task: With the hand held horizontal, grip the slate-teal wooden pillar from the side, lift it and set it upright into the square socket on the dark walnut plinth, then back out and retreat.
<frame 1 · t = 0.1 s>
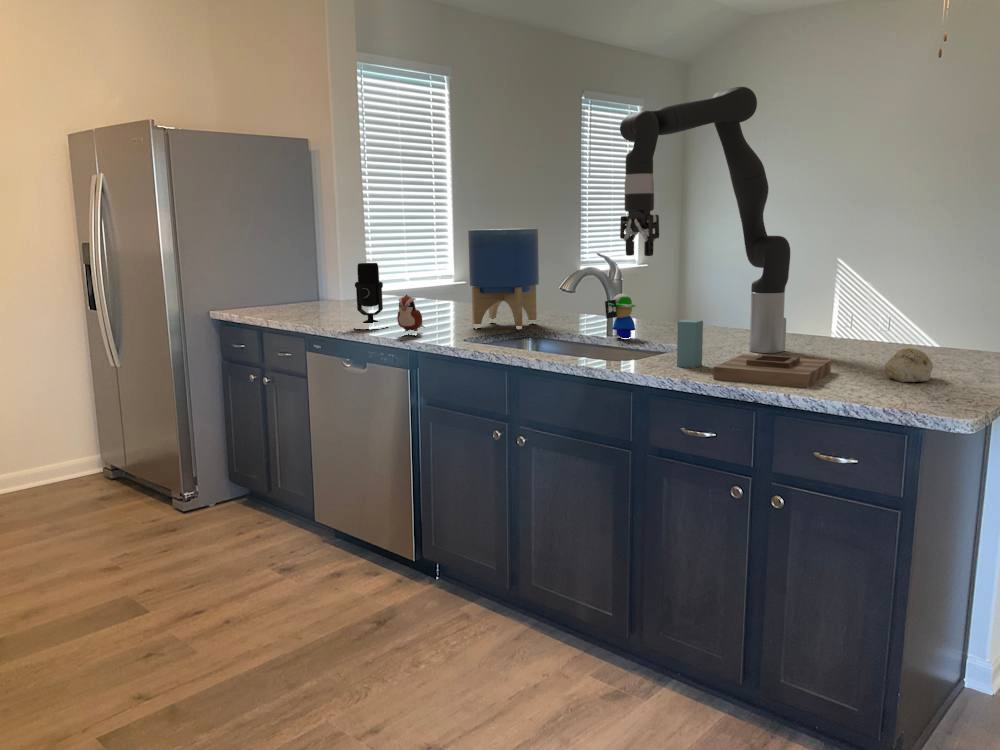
hand: (639, 255, 212), 29 cm above the countertop, tool pointing down, fingers open, 8 cm apart
planter: (505, 327, 309), on the countertop
pillar: (689, 365, 215), on the countertop
microphone: (371, 328, 314), on the countertop
plinth: (772, 375, 198), on the countertop
toy 2: (412, 336, 289), on the countertop
toy: (621, 339, 268), on the countertop
decorative item: (908, 380, 190), on the countertop
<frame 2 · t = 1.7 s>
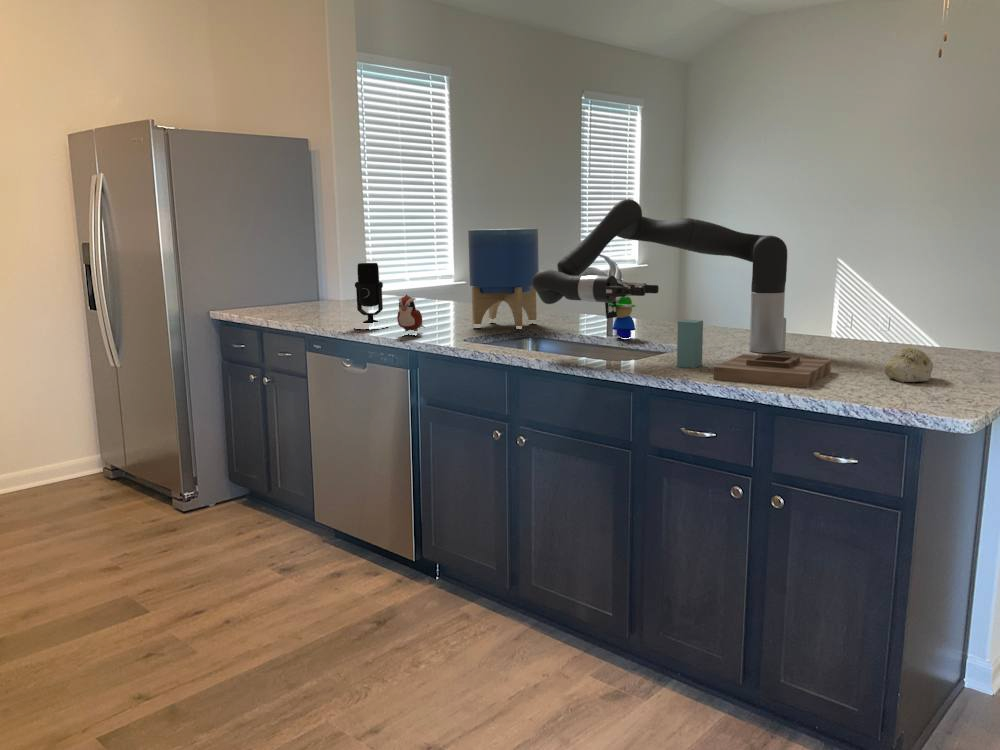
hand: (651, 290, 217), 20 cm above the countertop, tool horizontal, fingers open, 8 cm apart
nothing on the countertop moved.
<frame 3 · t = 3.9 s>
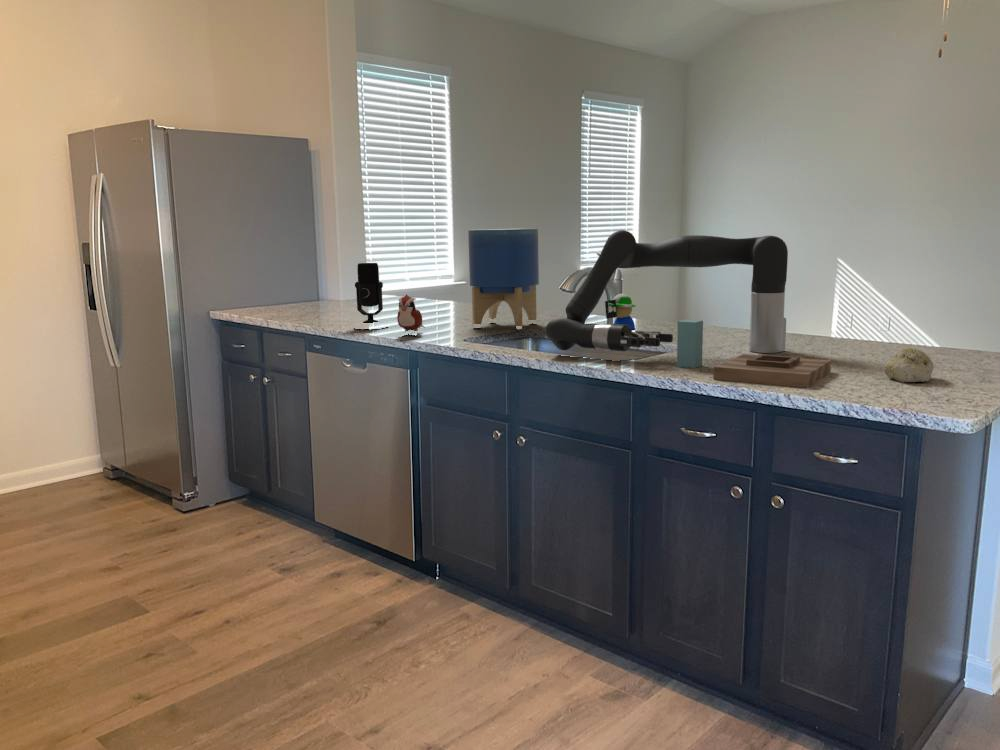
hand: (666, 340, 217), 6 cm above the countertop, tool horizontal, fingers open, 8 cm apart
nothing on the countertop moved.
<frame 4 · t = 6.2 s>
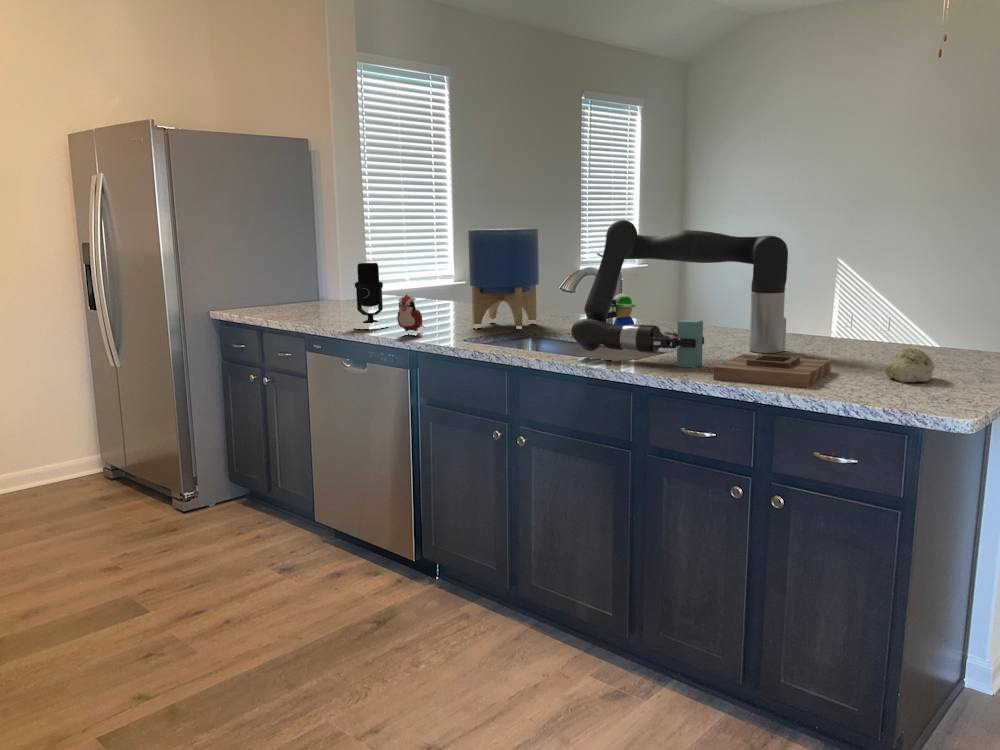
hand: (699, 342, 212), 7 cm above the countertop, tool horizontal, fingers closed on pillar, 5 cm apart
pillar: (689, 365, 215), on the countertop, touching gripper
everything else where it was.
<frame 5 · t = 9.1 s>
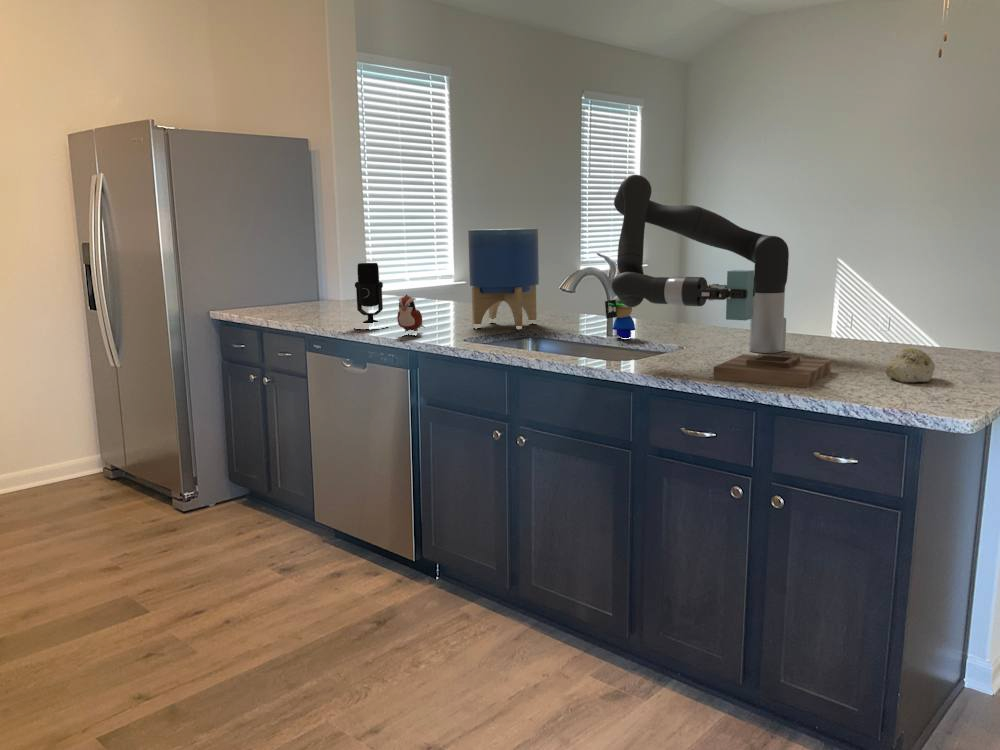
hand: (750, 293, 200), 20 cm above the countertop, tool horizontal, fingers closed on pillar, 5 cm apart
pillar: (739, 319, 202), point 13 cm above the countertop, touching gripper
everything else where it was.
when the fingers open (10 cm above the countertop, at t = 12.4 s): pillar stays where it is, resting on plinth.
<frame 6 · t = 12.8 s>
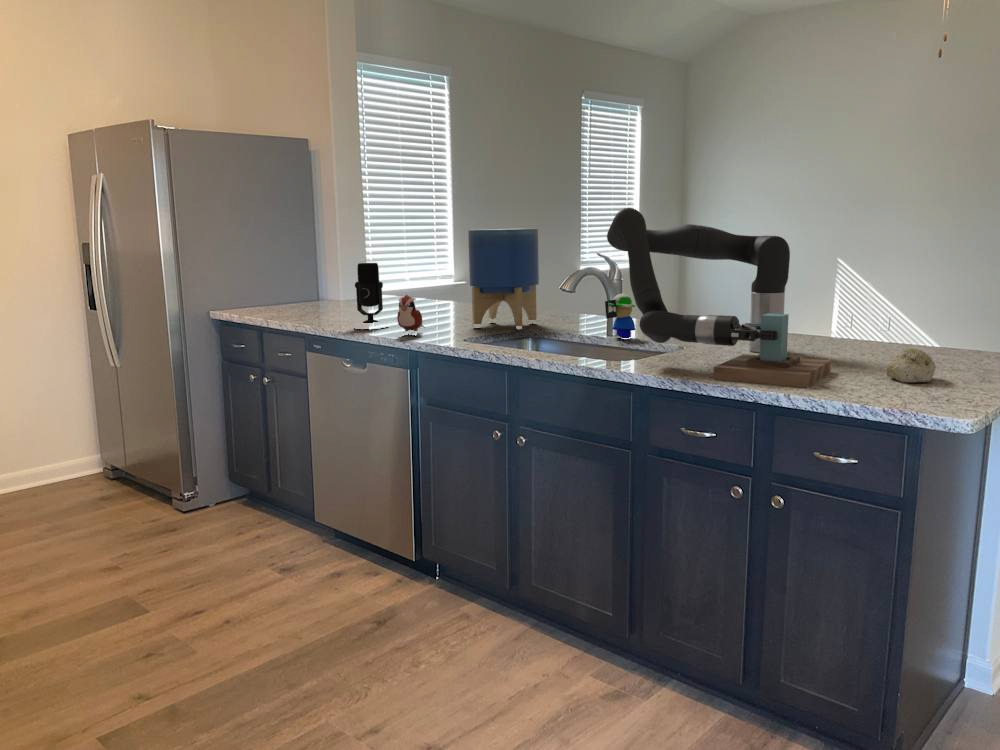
hand: (782, 333, 195), 10 cm above the countertop, tool horizontal, fingers open, 8 cm apart
pillar: (773, 363, 198), point 3 cm above the countertop, touching plinth
everything else where it was.
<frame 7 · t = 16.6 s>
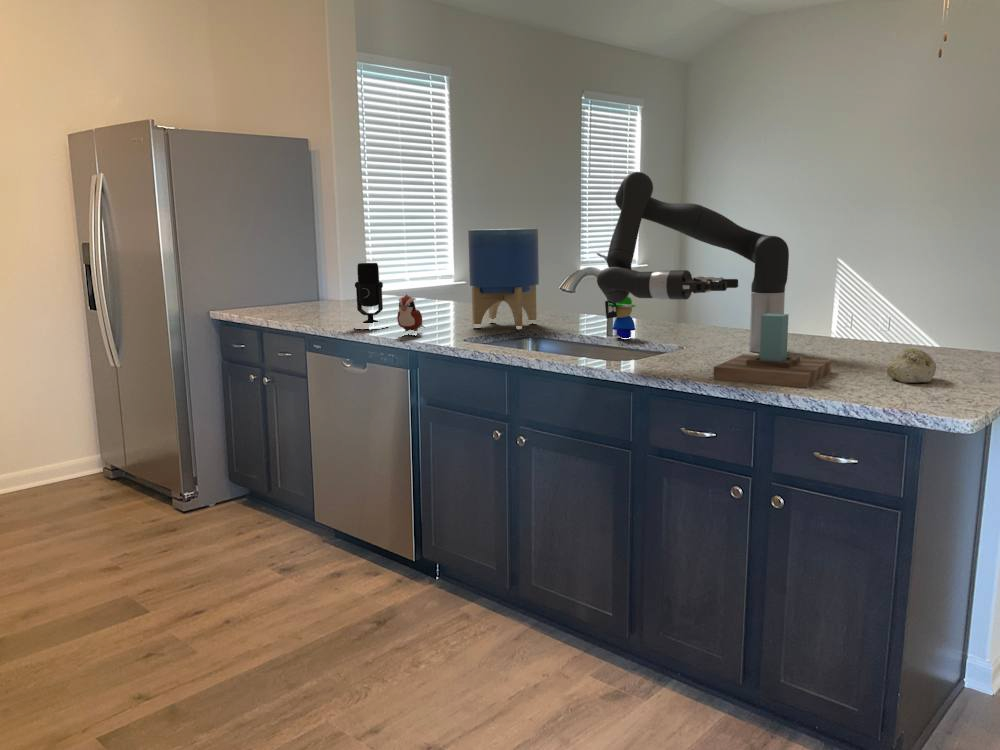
hand: (732, 284, 201), 22 cm above the countertop, tool horizontal, fingers open, 8 cm apart
nothing on the countertop moved.
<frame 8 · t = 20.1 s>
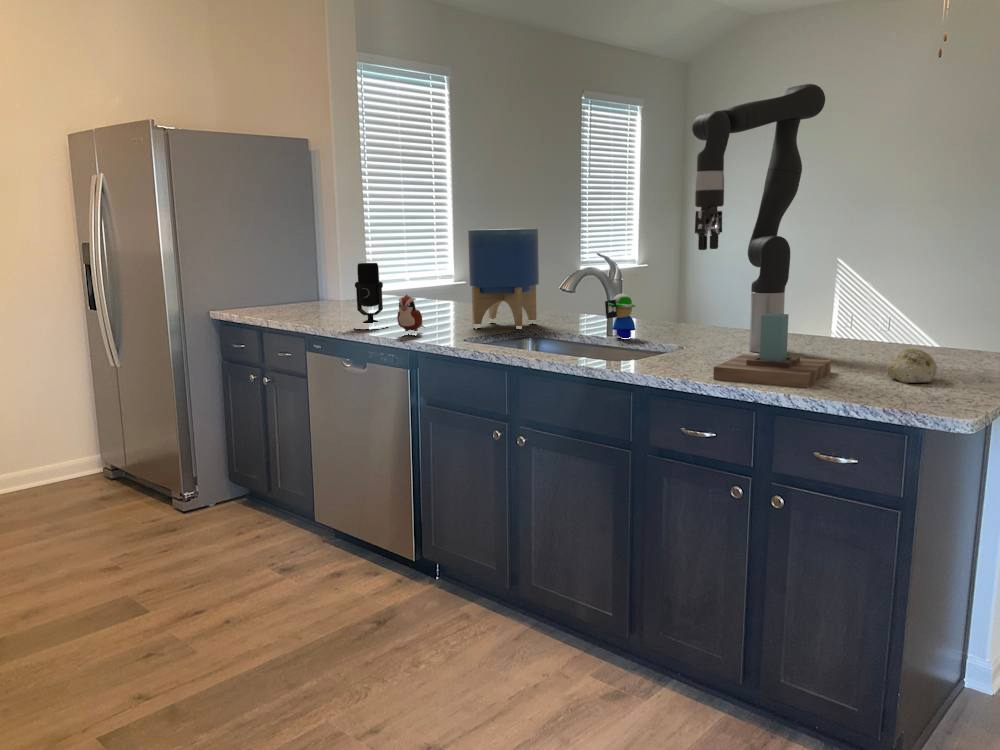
hand: (708, 249, 221), 30 cm above the countertop, tool pointing down, fingers open, 8 cm apart
at the end: pillar 0.1 cm off-centre on the plinth, point 3.0 cm above the plinth's base; pillar tilted 0°; the gripper is holding nothing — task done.
